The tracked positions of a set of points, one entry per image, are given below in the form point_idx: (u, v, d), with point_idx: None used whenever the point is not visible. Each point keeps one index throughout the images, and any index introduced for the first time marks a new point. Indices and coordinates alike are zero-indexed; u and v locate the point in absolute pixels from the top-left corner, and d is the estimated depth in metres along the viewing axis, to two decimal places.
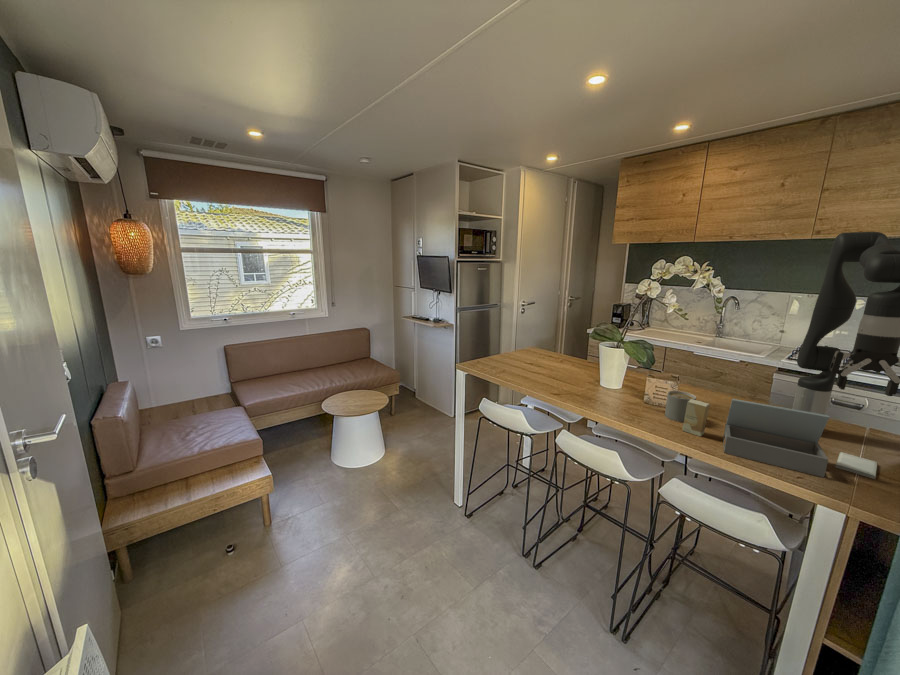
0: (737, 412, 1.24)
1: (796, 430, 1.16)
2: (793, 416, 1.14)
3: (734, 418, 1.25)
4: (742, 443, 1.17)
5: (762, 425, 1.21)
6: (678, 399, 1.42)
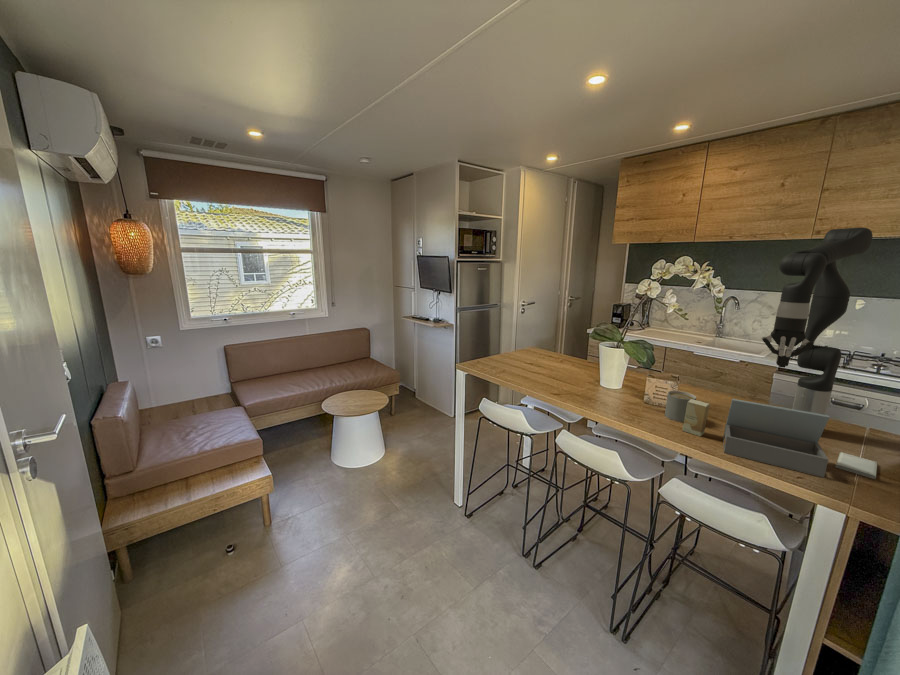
0: (737, 412, 1.24)
1: (796, 430, 1.16)
2: (793, 416, 1.14)
3: (734, 418, 1.25)
4: (742, 443, 1.17)
5: (762, 425, 1.21)
6: (678, 399, 1.42)
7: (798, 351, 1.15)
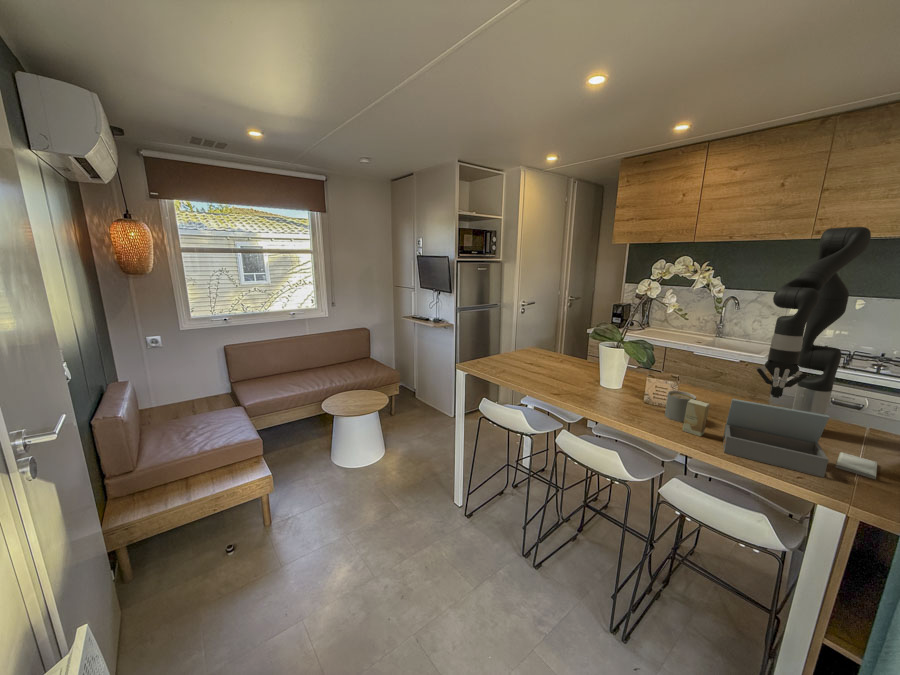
0: (737, 412, 1.24)
1: (796, 430, 1.16)
2: (793, 416, 1.14)
3: (734, 418, 1.25)
4: (742, 443, 1.17)
5: (762, 425, 1.21)
6: (678, 399, 1.42)
7: (792, 382, 1.17)
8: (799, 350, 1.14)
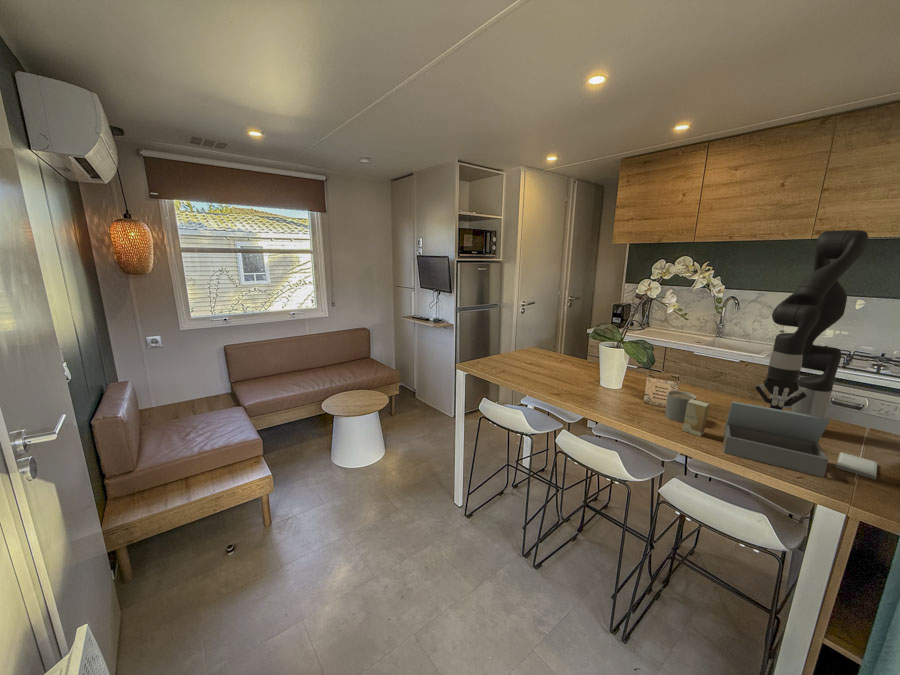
0: (737, 414, 1.23)
1: (797, 431, 1.16)
2: (793, 418, 1.13)
3: (734, 419, 1.25)
4: (742, 443, 1.17)
5: (762, 426, 1.21)
6: (678, 399, 1.42)
7: (791, 402, 1.14)
8: (799, 369, 1.11)
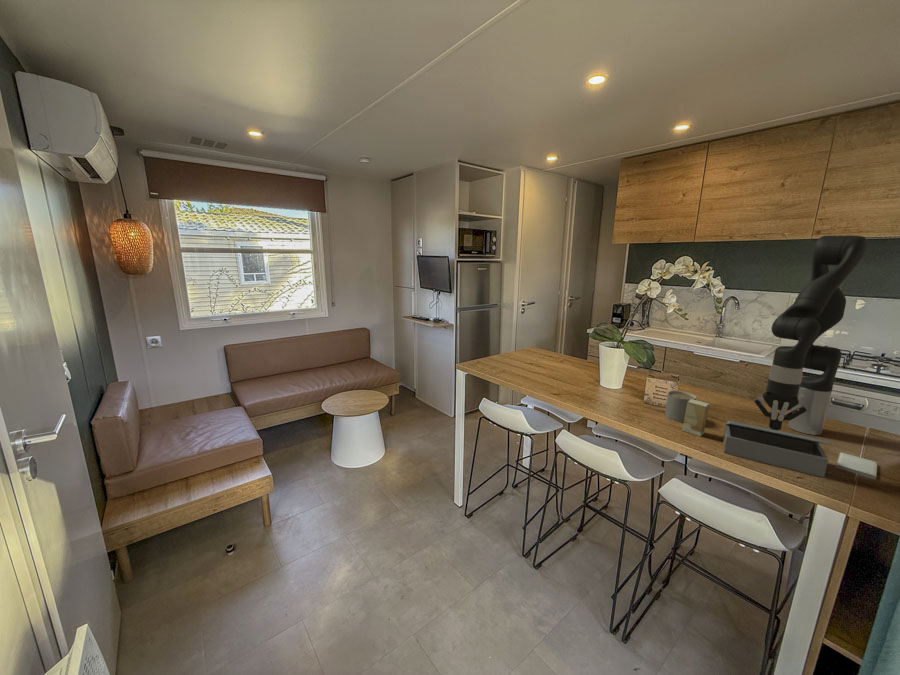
0: (736, 425, 1.22)
1: (796, 438, 1.15)
2: (793, 436, 1.11)
3: (733, 425, 1.24)
4: (742, 443, 1.17)
5: (762, 431, 1.20)
6: (678, 399, 1.42)
7: (791, 416, 1.12)
8: (799, 383, 1.09)
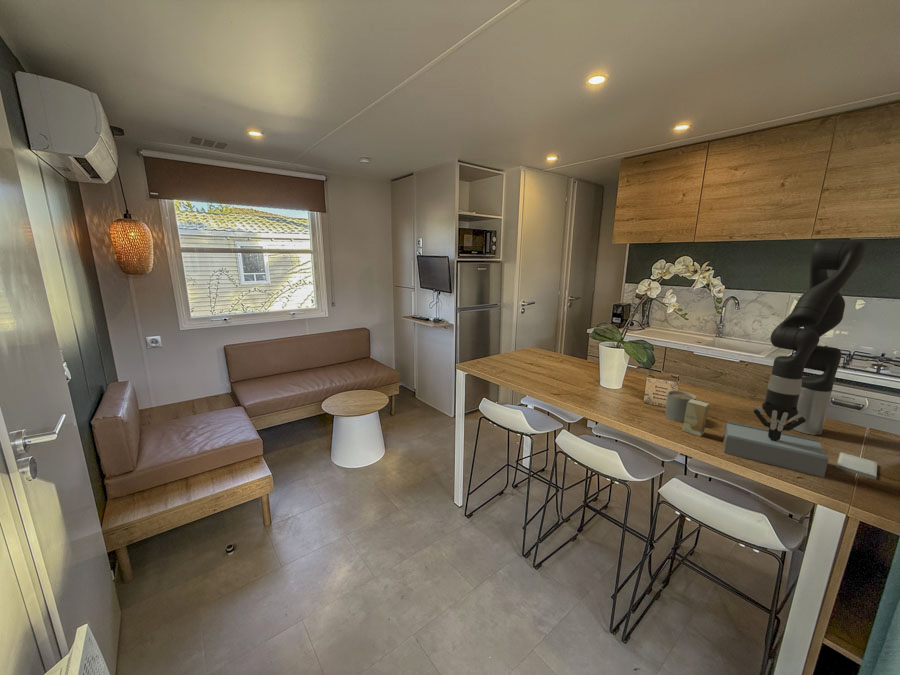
0: None
1: None
2: None
3: None
4: (742, 443, 1.17)
5: None
6: (678, 399, 1.42)
7: (790, 426, 1.11)
8: (798, 393, 1.08)
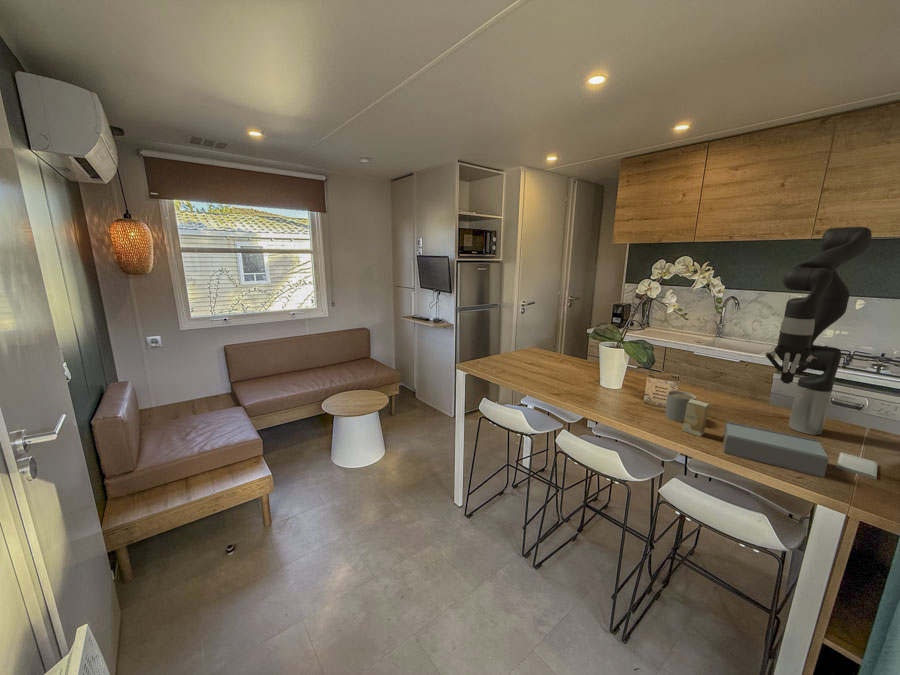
0: None
1: None
2: None
3: None
4: (742, 443, 1.17)
5: None
6: (678, 399, 1.42)
7: (803, 367, 1.12)
8: (811, 334, 1.09)
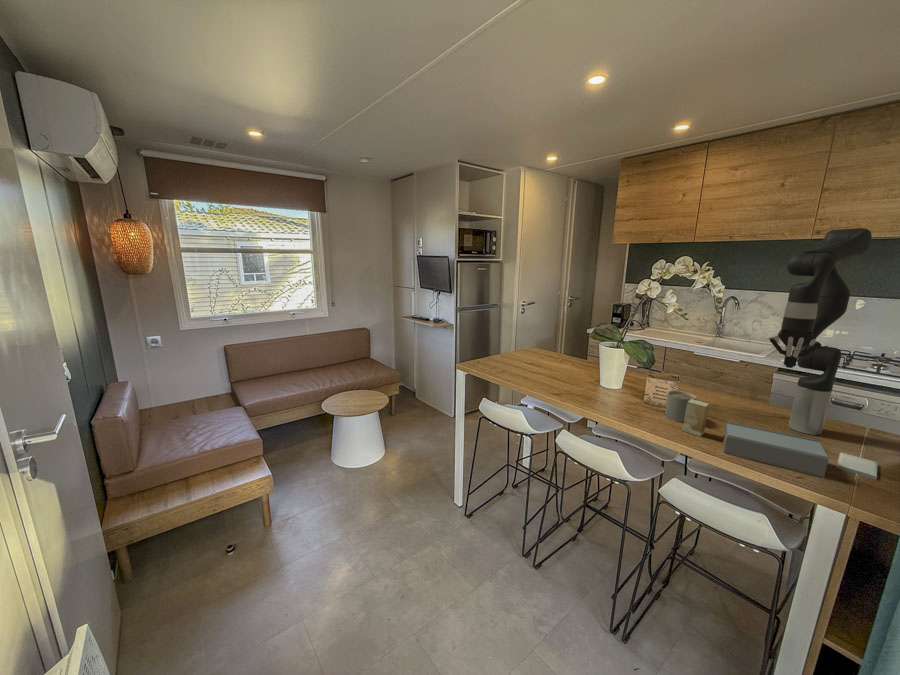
0: None
1: None
2: None
3: None
4: (742, 443, 1.17)
5: None
6: (678, 399, 1.42)
7: (806, 351, 1.15)
8: (814, 318, 1.12)
